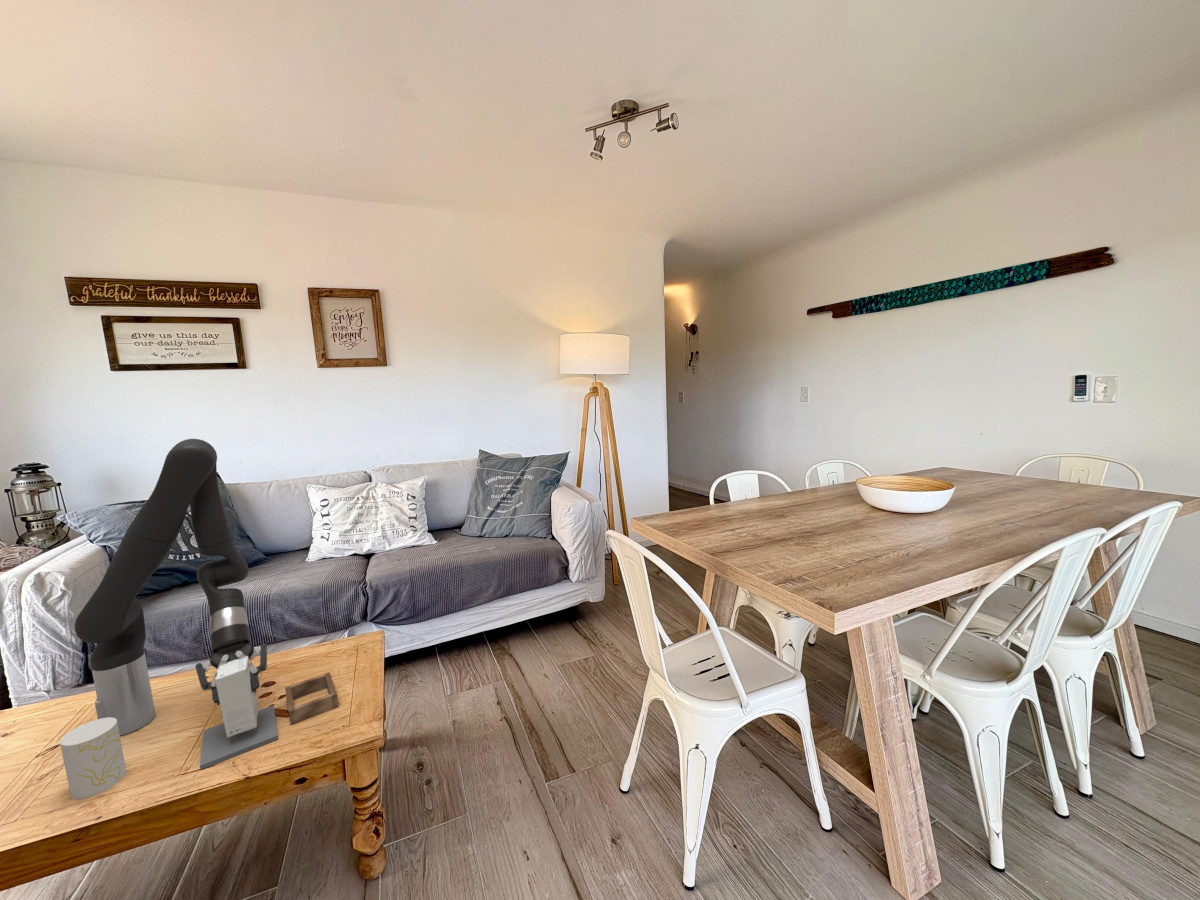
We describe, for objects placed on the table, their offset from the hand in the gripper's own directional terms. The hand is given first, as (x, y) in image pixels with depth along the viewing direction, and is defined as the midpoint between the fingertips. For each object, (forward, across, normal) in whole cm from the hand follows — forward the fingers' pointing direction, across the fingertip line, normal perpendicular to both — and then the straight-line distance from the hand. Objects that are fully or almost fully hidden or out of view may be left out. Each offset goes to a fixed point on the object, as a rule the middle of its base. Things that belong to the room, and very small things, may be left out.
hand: (237, 697), depth 110 cm
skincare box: (+4, 0, +7) cm, 8 cm away
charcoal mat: (+7, -1, +8) cm, 11 cm away
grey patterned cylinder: (+4, -25, +11) cm, 27 cm away
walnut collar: (+5, +14, +11) cm, 18 cm away
